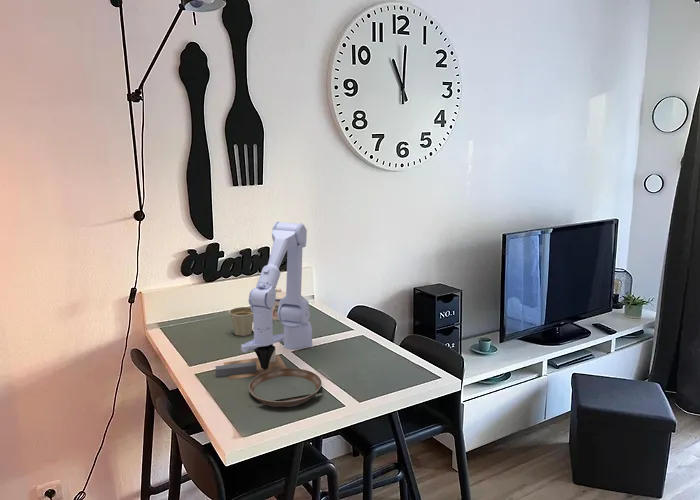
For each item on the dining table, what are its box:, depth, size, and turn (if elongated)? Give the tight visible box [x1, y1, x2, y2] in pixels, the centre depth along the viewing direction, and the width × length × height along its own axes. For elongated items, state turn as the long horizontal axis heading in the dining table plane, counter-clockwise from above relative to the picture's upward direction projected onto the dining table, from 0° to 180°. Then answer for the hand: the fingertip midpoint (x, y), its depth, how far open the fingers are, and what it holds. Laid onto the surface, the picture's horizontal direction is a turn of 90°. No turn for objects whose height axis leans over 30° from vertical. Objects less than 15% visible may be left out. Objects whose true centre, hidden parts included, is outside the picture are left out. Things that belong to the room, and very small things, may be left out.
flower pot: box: [228, 306, 253, 337], centre depth 205 cm, size 9×9×9 cm
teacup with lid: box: [272, 287, 286, 321], centre depth 222 cm, size 12×9×12 cm
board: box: [222, 354, 288, 381], centre depth 175 cm, size 18×13×1 cm
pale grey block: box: [269, 343, 277, 363], centre depth 180 cm, size 4×5×5 cm
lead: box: [215, 362, 257, 378], centre depth 170 cm, size 12×3×2 cm, turn 106°
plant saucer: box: [248, 367, 322, 408], centre depth 160 cm, size 21×21×3 cm
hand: (264, 368), depth 172 cm, fingers closed
